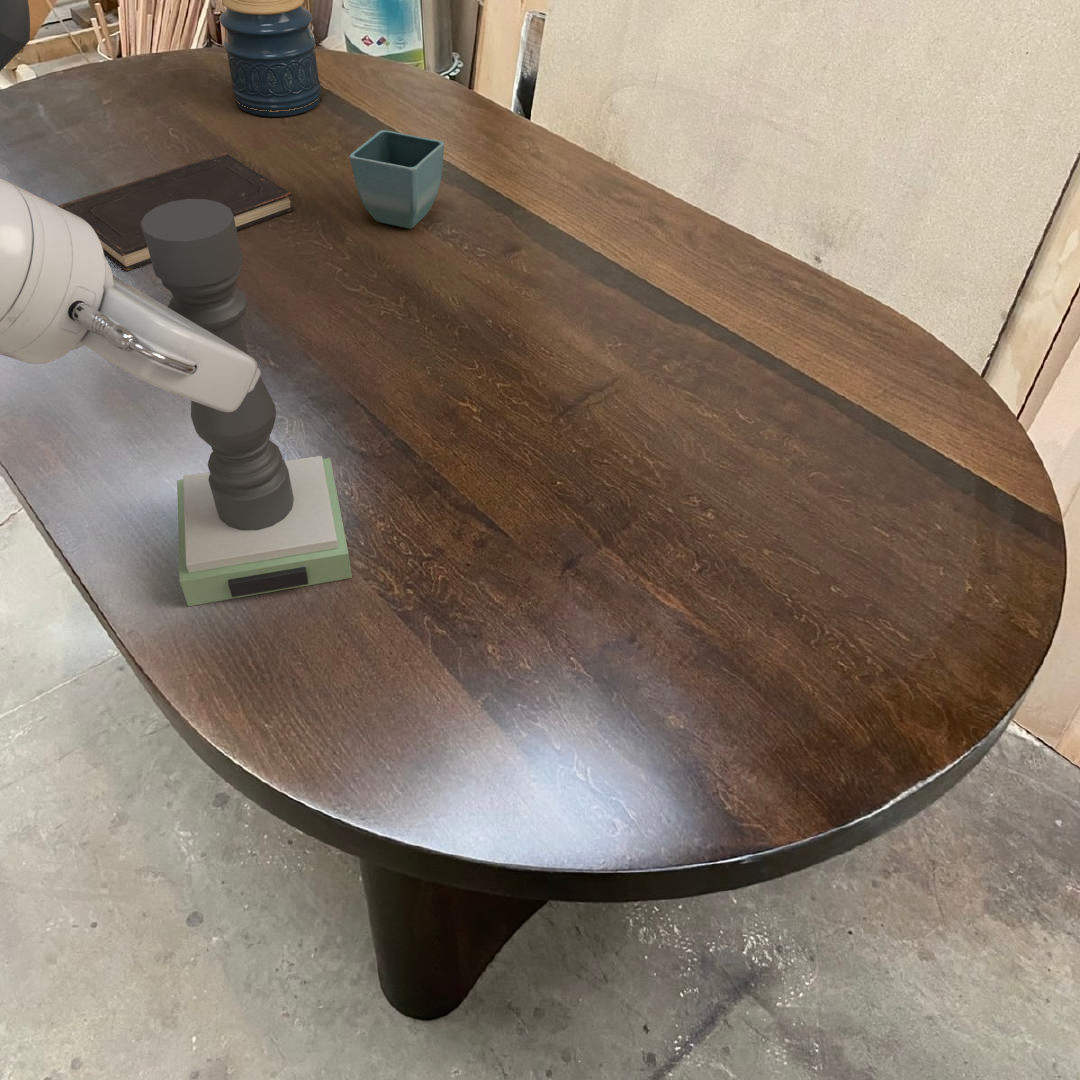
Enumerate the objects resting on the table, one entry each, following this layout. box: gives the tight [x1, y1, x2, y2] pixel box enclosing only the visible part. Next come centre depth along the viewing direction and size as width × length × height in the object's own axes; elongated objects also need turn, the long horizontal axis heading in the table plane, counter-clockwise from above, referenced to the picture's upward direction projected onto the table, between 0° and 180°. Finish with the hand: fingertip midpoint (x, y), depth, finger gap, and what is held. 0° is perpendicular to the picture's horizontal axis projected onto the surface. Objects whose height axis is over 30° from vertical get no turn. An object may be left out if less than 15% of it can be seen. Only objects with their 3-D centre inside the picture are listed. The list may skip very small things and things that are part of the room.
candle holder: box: [141, 199, 294, 530], centre depth 70 cm, size 6×6×25 cm
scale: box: [176, 455, 353, 607], centre depth 80 cm, size 13×12×4 cm
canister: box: [219, 0, 322, 118], centre depth 140 cm, size 13×13×18 cm
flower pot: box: [349, 129, 445, 230], centre depth 119 cm, size 9×9×9 cm
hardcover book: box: [57, 152, 295, 272], centre depth 120 cm, size 16×23×2 cm
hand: (204, 350), depth 66 cm, fingers open, 8 cm apart
